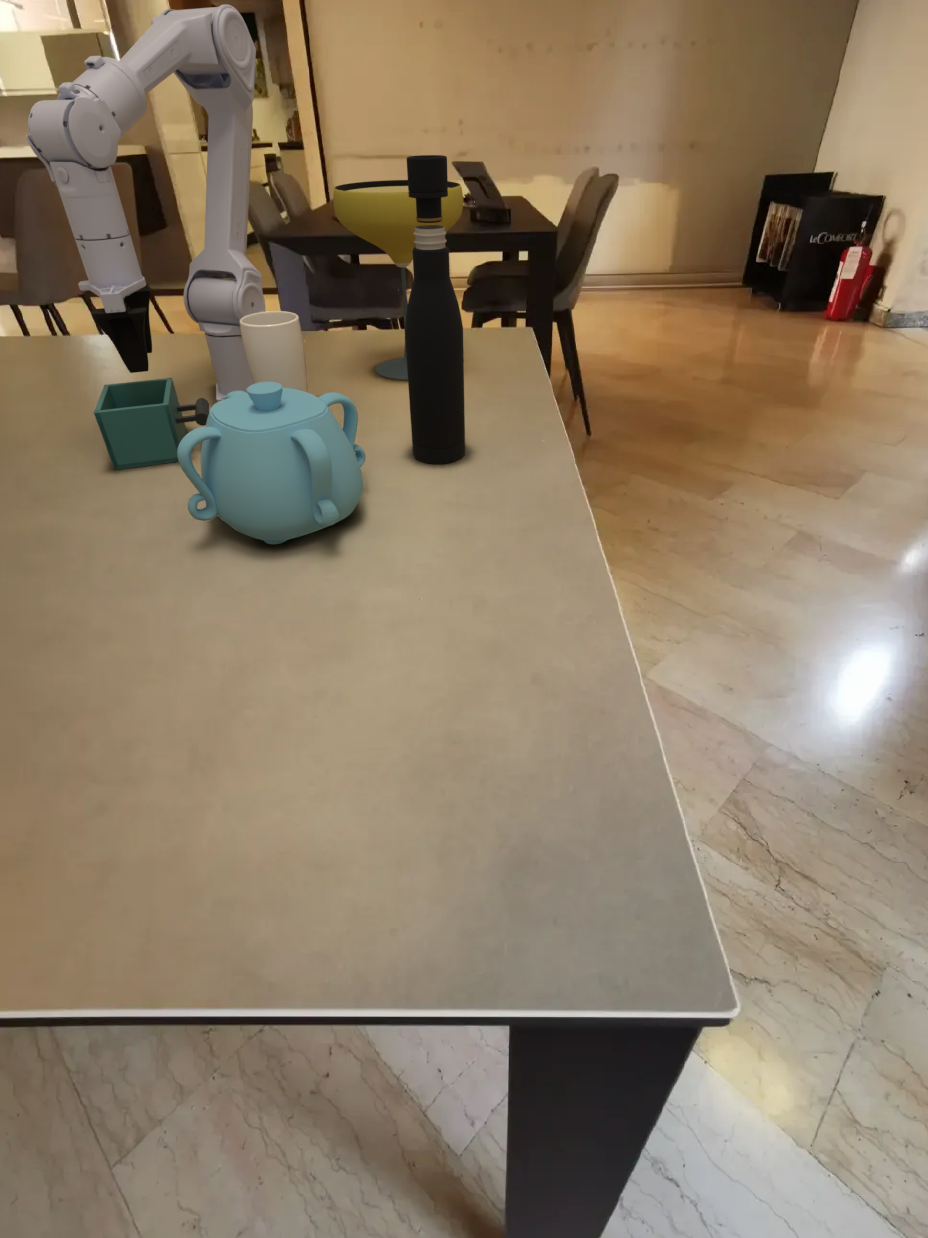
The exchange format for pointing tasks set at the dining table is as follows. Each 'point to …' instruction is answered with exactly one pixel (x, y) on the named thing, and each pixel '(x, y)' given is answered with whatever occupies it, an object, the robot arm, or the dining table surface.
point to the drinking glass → (275, 348)
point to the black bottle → (433, 325)
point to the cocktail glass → (390, 230)
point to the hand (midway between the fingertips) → (141, 361)
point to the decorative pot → (275, 462)
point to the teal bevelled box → (144, 422)
